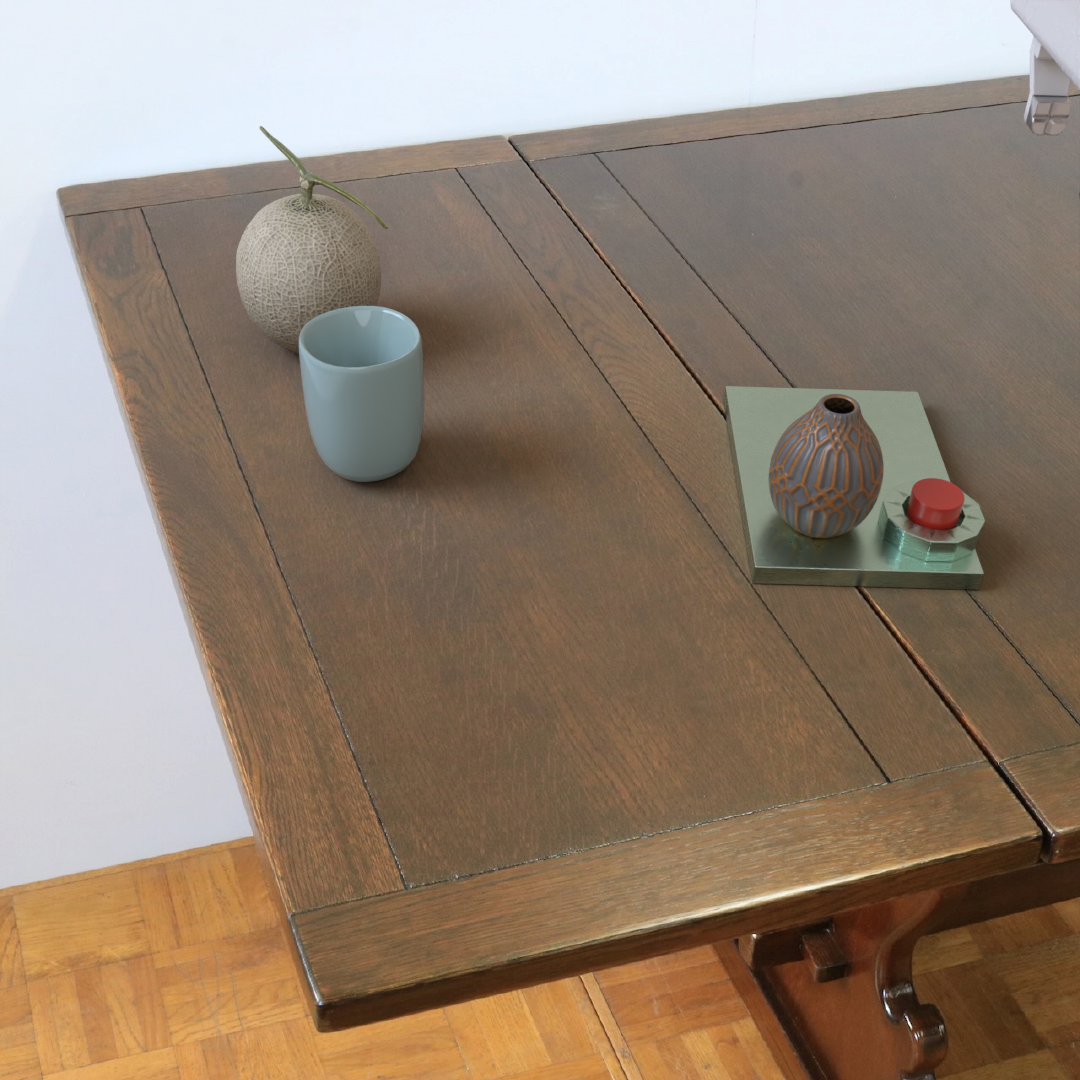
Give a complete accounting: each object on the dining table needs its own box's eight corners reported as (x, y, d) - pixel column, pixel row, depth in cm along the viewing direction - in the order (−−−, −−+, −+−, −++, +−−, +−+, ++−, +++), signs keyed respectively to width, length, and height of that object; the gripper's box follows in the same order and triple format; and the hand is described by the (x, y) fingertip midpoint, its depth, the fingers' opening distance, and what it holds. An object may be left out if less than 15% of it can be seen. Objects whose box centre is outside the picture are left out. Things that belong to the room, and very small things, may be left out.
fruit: (373, 388, 97) (360, 197, 88) (225, 368, 99) (196, 179, 89) (412, 317, 105) (404, 135, 96) (274, 300, 107) (253, 119, 97)
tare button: (963, 532, 82) (970, 510, 81) (911, 530, 82) (917, 508, 81) (952, 500, 84) (958, 478, 83) (902, 498, 84) (907, 476, 83)
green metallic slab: (986, 590, 82) (998, 553, 80) (752, 583, 82) (758, 546, 80) (920, 407, 97) (928, 372, 95) (723, 401, 97) (727, 366, 95)
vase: (762, 480, 87) (781, 367, 82) (868, 491, 87) (894, 378, 81) (761, 547, 82) (781, 431, 77) (874, 559, 82) (902, 443, 76)
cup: (401, 419, 94) (394, 295, 88) (444, 480, 89) (441, 352, 82) (295, 446, 91) (281, 319, 85) (334, 510, 86) (321, 380, 80)
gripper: (1343, -70, 49) (1214, 268, 58) (1149, -186, 65) (1071, 94, 73) (1173, -75, 49) (1069, 265, 58) (1021, -189, 65) (957, 91, 73)
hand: (1069, 168), depth 66 cm, fingers open, 8 cm apart
